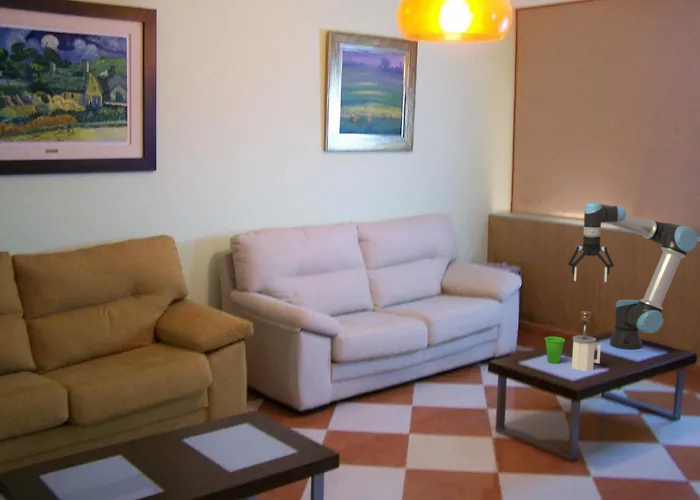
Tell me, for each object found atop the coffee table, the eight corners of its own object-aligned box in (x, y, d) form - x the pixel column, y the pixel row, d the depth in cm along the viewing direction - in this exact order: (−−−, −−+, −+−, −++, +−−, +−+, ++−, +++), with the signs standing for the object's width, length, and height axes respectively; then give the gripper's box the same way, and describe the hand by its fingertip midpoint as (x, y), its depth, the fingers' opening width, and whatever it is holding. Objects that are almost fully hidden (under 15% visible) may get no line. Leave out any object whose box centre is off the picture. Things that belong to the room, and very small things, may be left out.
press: (571, 363, 374) (572, 334, 372) (598, 365, 371) (600, 337, 369) (571, 369, 364) (572, 340, 362) (599, 372, 361) (601, 342, 359)
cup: (562, 360, 379) (563, 337, 378) (565, 365, 370) (566, 342, 369) (542, 359, 380) (543, 336, 378) (544, 364, 371) (546, 341, 369)
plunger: (582, 357, 371) (585, 310, 368) (592, 360, 366) (595, 312, 363) (573, 358, 368) (576, 311, 365) (583, 362, 363) (586, 314, 360)
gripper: (564, 236, 376) (562, 281, 380) (621, 237, 371) (618, 283, 374) (563, 234, 384) (562, 278, 387) (619, 235, 378) (617, 280, 382)
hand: (590, 281), depth 381 cm, fingers open, 13 cm apart
